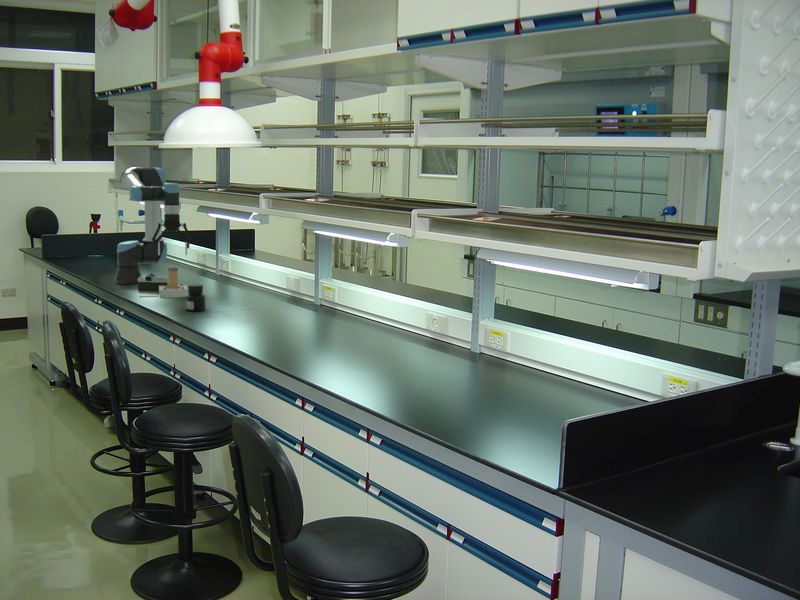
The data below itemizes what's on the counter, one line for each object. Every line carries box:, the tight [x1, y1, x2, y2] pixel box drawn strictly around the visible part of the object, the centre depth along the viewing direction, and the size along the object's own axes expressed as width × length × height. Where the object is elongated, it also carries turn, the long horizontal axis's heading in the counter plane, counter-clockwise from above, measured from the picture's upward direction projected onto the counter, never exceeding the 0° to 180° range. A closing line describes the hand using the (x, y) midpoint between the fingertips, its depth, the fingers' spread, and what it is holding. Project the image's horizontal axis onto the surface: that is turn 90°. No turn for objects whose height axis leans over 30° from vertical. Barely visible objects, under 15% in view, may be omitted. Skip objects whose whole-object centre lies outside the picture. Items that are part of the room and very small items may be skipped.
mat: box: [138, 292, 159, 298], centre depth 415 cm, size 9×9×1 cm
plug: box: [167, 267, 179, 289], centre depth 418 cm, size 5×5×14 cm
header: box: [158, 283, 189, 298], centre depth 419 cm, size 14×14×5 cm
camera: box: [137, 272, 168, 294], centre depth 428 cm, size 16×9×10 cm, turn 88°
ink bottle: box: [185, 283, 206, 313], centre depth 378 cm, size 10×9×12 cm
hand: (172, 254), depth 416 cm, fingers open, 13 cm apart
